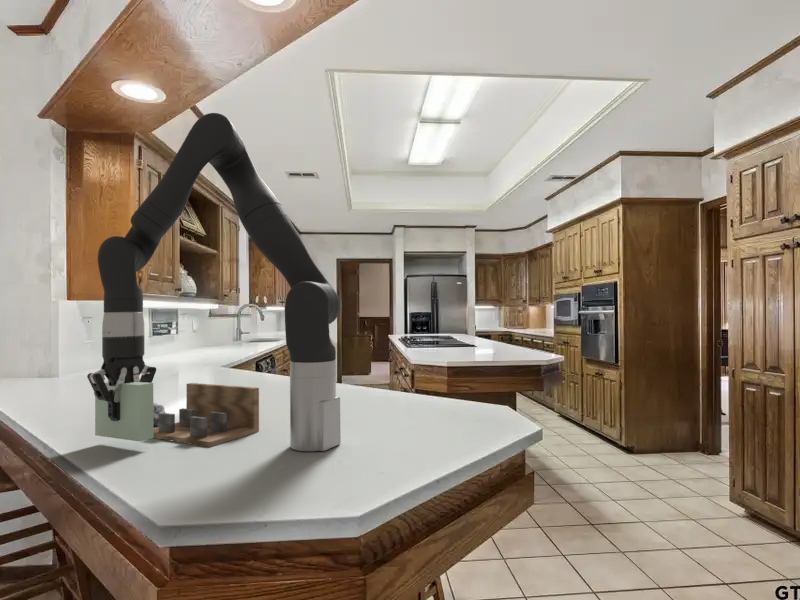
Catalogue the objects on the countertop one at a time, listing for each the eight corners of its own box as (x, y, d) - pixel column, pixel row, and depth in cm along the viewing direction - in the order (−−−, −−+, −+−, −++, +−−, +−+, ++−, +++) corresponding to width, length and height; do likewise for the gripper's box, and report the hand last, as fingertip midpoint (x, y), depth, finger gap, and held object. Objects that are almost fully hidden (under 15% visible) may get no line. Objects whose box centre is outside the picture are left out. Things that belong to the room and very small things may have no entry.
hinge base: (259, 431, 107) (258, 387, 108) (210, 447, 95) (210, 397, 95) (191, 423, 117) (191, 382, 117) (139, 436, 104) (139, 391, 105)
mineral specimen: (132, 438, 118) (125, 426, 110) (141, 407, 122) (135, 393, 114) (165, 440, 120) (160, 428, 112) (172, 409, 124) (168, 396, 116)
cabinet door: (153, 437, 94) (153, 382, 94) (134, 442, 90) (134, 385, 91) (109, 432, 100) (109, 380, 100) (90, 436, 96) (90, 383, 97)
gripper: (100, 336, 88) (100, 427, 88) (166, 333, 101) (166, 413, 100) (76, 336, 92) (76, 424, 91) (143, 333, 104) (143, 411, 104)
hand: (123, 418), depth 96 cm, fingers closed on cabinet door, 3 cm apart
